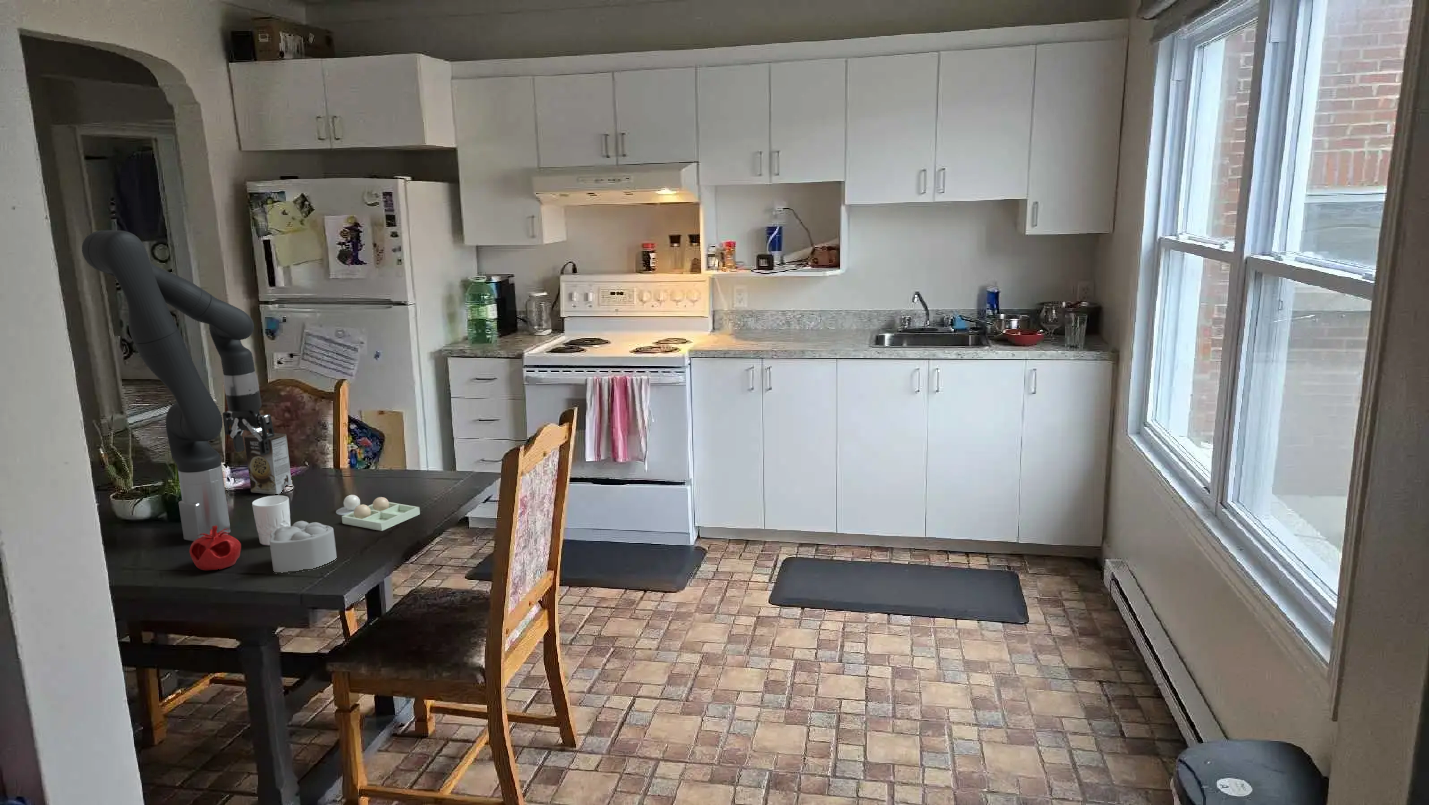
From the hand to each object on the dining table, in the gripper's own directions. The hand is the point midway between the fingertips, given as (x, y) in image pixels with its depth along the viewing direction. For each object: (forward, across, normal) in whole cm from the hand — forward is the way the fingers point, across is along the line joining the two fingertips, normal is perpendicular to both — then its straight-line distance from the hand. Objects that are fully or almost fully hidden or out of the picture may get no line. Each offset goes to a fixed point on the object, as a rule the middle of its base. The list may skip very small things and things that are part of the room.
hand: (252, 452), depth 233 cm
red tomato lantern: (+16, +17, -28) cm, 36 cm away
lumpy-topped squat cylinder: (+17, +34, -19) cm, 43 cm away
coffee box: (+18, -16, +17) cm, 30 cm away
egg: (+17, +20, +10) cm, 28 cm away
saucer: (+18, +20, +10) cm, 28 cm away
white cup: (+17, +17, -11) cm, 26 cm away
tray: (+18, +32, +8) cm, 37 cm away
